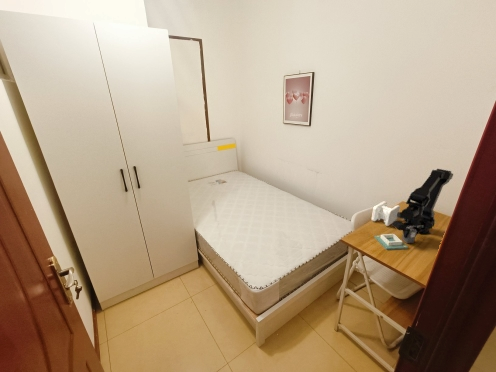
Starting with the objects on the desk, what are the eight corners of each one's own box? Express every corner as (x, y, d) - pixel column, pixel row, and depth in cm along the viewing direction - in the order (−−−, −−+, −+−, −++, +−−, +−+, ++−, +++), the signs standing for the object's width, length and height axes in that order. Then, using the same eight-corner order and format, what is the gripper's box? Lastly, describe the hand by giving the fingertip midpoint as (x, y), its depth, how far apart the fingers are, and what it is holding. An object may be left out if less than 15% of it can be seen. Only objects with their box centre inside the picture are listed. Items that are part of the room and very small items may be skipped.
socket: (393, 236, 129) (393, 233, 129) (401, 244, 122) (402, 241, 122) (380, 237, 129) (380, 234, 129) (388, 245, 122) (389, 242, 122)
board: (394, 235, 132) (394, 234, 131) (408, 248, 121) (408, 247, 120) (374, 237, 132) (374, 235, 131) (386, 249, 121) (386, 248, 120)
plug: (408, 238, 128) (412, 226, 125) (414, 243, 124) (417, 230, 121) (402, 238, 128) (405, 226, 125) (407, 243, 124) (410, 231, 121)
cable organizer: (386, 228, 140) (389, 212, 135) (369, 221, 148) (372, 206, 144) (397, 220, 147) (401, 205, 143) (381, 214, 156) (384, 199, 151)
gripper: (421, 205, 127) (414, 228, 133) (389, 207, 127) (384, 230, 133) (436, 215, 116) (429, 239, 122) (402, 217, 116) (396, 241, 122)
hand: (408, 237), depth 125 cm, fingers closed on plug, 4 cm apart
